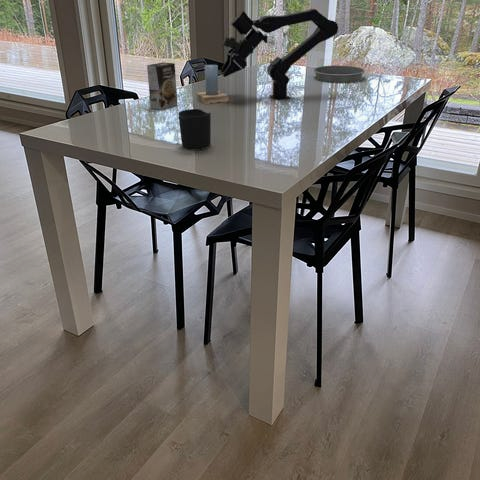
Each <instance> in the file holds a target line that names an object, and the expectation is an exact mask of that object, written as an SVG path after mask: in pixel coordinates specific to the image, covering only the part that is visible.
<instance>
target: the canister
mask: <svg viewBox="0 0 480 480" xmlns="http://www.w3.org/2000/svg"><path fill="white" fill-rule="evenodd" d="M204 81H205V82H204V83H205V84H204V85H205V92H206V95H218V94H219V91H220V90H219V66H218V65H217V64H205V65H204Z"/></svg>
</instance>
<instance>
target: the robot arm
mask: <svg viewBox="0 0 480 480" xmlns="http://www.w3.org/2000/svg"><path fill="white" fill-rule="evenodd" d="M309 21H310V22H312V23H313V24H314V25H315V26H316V28H315V30H314V31H313V33H312V34H311V35H310V36H309V37H307V38H306V39H305V40H304V41H302V42H301V43H300V44H299V45H297V46H296V47H295V48H294V49H292V50H291V51H290V52H289V53H288V54H286V55H285V56H284V57H282V58H281V57H279V56H276V57H275V58H274V59H273V60H272V61H270V62H269V65H268V66H267V75H268V76H269V77H270V78H271V80H272V94H270V95H269V97H270V98H273V99H274V100H283V99H285V100H286V99H290V98H291V97H290V96H289V95H287V94H288V93H287V91H288V84H289V81H290V78H289V76H287V75H286V74H287V73H288V71H289V69H290V68H291V67H292V66H293V65H294V64H295V63H296V62H298V61H299V60H300V59H302V58H303V56H305V55H306V54H307V53H309V52H310V51H311V50H313V49H314V48H316V46H318V45H319V44H320V43H322V42H324V41H328V40H329V39H331V38H333V37H335V36H336V35H337V34H338V31H339V25H338V23H337V22H336V21H334V20H331V19H329V18H327V17H326V16H324V15H323V14H322V13H321V12H319V11H318V9H315V8H309V9H307V10H303V11H297V12H293V13H288V14H282V15H262V16H261V17H260V18H259V19H255V20H252V19H251V18H250V17H249V16H248V15H247V12H246V11H244V10H243V11H241V12H240V13H239V14H238V15H237V16H235V17H234V19H232V21H231V22H230V25H231V26H232V27H233V29H234V30H236V31H237V32H238V34H239V35H240V36H242V35H244V36H245V35H246V36H245V37H244V38H243V39H240V40H239V41H237V40H236V37H235V38H234V37H232V36H231V37H229V36H227V35H226V36H225V37H224V38H223V39H224V40H223V42H222V45H223V46H225V47H227V48H229V49H227V51H226V59H225V62H224V64H223V66H222V67H221V69H220V72H221V73H222V76H223V77H224V78H226V77H228V76H230V75H233V74H234V73H237V72H239V71H242V70H244V69H245V68H247V66H248V65H247V64H248V63H247V58H248V57H249V56H250V55H252V54H253V53H254V50H255V49H256V48H257V47H258V46H259V45H260V44H261V43H262V42H264V43H265V44H268V35H267V34H270V33H272V32H275V31H278V30H279V29H281V28H284V27H286V26H292V25H297V24H301V23H306V22H309ZM256 29H259V30H256ZM261 31H262V32H263V33H262V32H261ZM264 33H266V34H265V35H264Z"/></svg>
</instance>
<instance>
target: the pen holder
mask: <svg viewBox="0 0 480 480" xmlns="http://www.w3.org/2000/svg"><path fill="white" fill-rule="evenodd" d="M178 121H179V132H180V141H181V145H182V147H183V148H184V149H186V150H190V149H200V150H203V149H202V148H205V149H207V148H206V147H208V146H209V147H210V146H211V135H212V134H211V131H212V130H211V128H212V127H211V125H212V123H211V121H212V120H211V112H205V111H204V110H202V109H199V108H191V109H190V108H189V109H184V110H181V111H179V112H178ZM209 147H208V148H209Z"/></svg>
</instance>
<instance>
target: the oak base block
mask: <svg viewBox="0 0 480 480" xmlns="http://www.w3.org/2000/svg"><path fill="white" fill-rule="evenodd" d="M196 100H197V101H199V102H201V103H202V104H204V105H210V103H212V104H218V103H217V102H221V103H227V101H228V102H229V94H227V93H224V92H222V91H220V90H219V94H218V95H206V91H202V92H196Z"/></svg>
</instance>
